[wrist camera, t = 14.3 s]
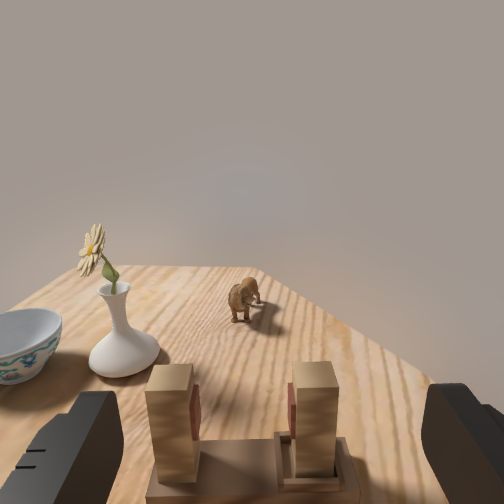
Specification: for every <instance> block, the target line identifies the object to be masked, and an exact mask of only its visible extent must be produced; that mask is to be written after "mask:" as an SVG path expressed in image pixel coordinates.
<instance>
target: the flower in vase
mask: <svg viewBox="0 0 504 504" xmlns="http://www.w3.org/2000/svg"><path fill="white" fill-rule="evenodd" d="M104 235H105V231H104V227H102V226H101V224H100V225H99V227H96V225H94V226H93V228H92V229H91V236H90V234H89V233H87V234H86V236H85V239H86V240H85V242H84V246H85V247H84V249H82V250H80V252H79V256H80V257H83V258H82V259H81V260H80V262H79V265H78V267H77V271H79V270H80V269H81V272H80V277H82V276H83V277H85V276H86V275H87V276H89V275H90V273H92V272H93V270H94V268H95V267H96V265H97V263H98V260H99V259H100V258H101V257H102V258H103V259H104V260H105V264H104V266H103V269H102V275H103V276H104V277H105V278H106V279H108V280H109V281H111V282H112V283H108V284H105V285H103V286H101V287H100V288H99V289H98V290H97V292H98V294H99V295H101V296H102V297H103V298H104V299H105V301H106V302H107V304H108V307H109V310H110V313H111V317H112V324H113V325H112V331H111V332H110V333H109V334H108V335H107V336H106V337H104V338H103V339H102V340H101V341H100V342H99V343H98V344H97V345H96V346H95V347H94V349H93V350H92V351H91V353H90V357H89V361H88V362H89V367H90V368H91V369H92V370H93V371H94V372H95V373H97V374H99V375H101V376H104V377H112V378H115V377H125V376H129V375H133V374H136V373H138V372H140V371H142V370H144V369H146V368H147V367H149V366H150V365H151V364H152V363H153V362H154V361H155V359H156V358H157V356H158V354H159V352H160V346H159V344H158V342H157V341H156V339H155V338H154V337H152V336H151V335H149V334H147V333H145V332H142V331H139V330H136V329H133V328H131V327H130V326H129V324H128V322H127V318H126V308H125V303H126V297H127V294H128V291H129V290H130V288H131V285H130V284H129V283H127V282H117V280H118V278H119V273H118V272H117V271H116V270H115V269H113V267H112V266H111V264H110V263H109V262H108V260H107V259H106V257H105V256H104V255H103V254H102V250H103V247H104V243H105V237H104Z"/></svg>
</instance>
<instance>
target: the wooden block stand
mask: <svg viewBox="0 0 504 504" xmlns="http://www.w3.org/2000/svg"><path fill="white" fill-rule="evenodd" d="M145 397H146V403H147V410H148V417H149V424H150V430H151V437H152V444H153V451H154V457H155V463H154V466H153V470H152V474H151V478H150V481H149V485H148V489H147V493H146V496H145V498H146V504H359V503H360V493H361V491H360V488H359V484H358V481H357V478H356V474H355V471H354V467H353V464H352V460H351V457H350V453H349V450H348V447H347V443H346V440H345V437H336V443H335V459H334V474H333V478H295V475H294V467H293V459H292V451H291V441H292V439H290V431H284V432H274V439H250V440H208V441H200V439H199V429H200V422H201V408H200V397H199V386H198V384H197V385H194V375H193V364H174V365H154V367H153V370H152V373H151V375H150V378H149V381H148V383H147V386H146V389H145Z"/></svg>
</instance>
